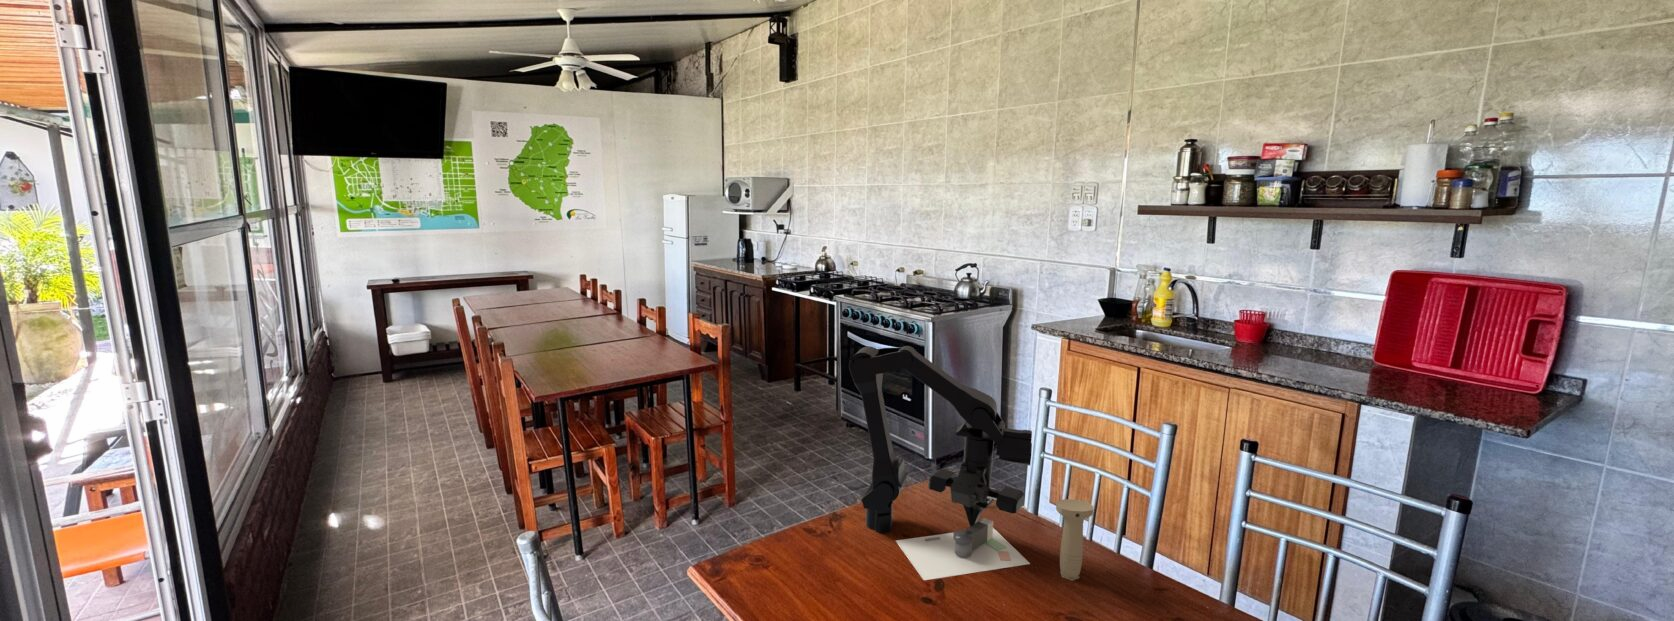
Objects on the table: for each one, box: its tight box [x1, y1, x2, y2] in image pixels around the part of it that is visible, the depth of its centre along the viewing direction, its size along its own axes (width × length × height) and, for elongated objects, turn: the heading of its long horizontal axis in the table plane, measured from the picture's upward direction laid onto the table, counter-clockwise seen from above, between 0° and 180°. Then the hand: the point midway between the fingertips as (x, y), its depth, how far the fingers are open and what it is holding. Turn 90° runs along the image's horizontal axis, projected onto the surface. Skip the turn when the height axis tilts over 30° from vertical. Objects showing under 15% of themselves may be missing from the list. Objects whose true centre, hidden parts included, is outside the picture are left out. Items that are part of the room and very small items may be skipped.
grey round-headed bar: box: [953, 517, 994, 557], centre depth 138 cm, size 11×4×4 cm, turn 136°
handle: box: [1055, 498, 1094, 581], centre depth 128 cm, size 5×6×15 cm
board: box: [895, 527, 1031, 581], centre depth 137 cm, size 15×22×1 cm
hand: (972, 528), depth 142 cm, fingers closed
